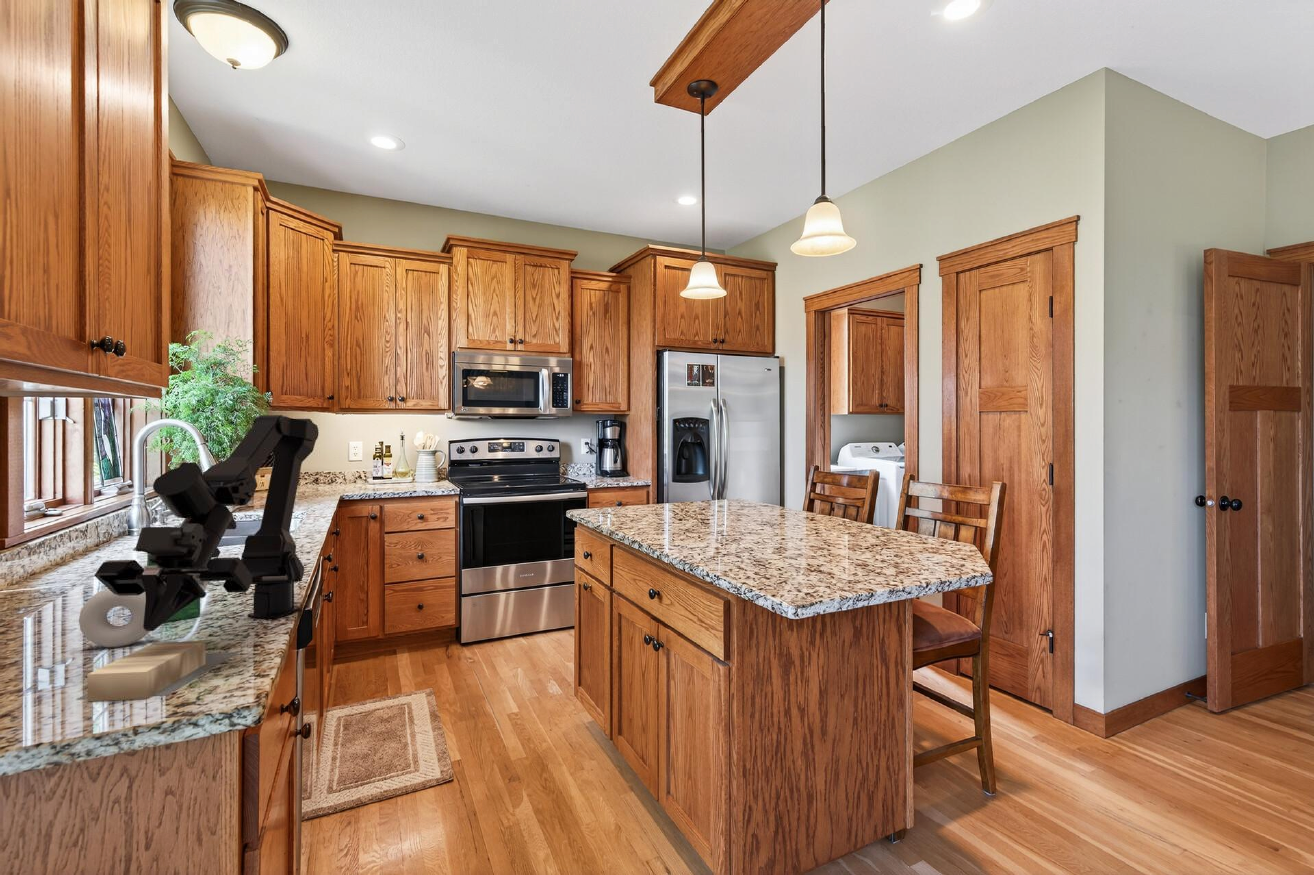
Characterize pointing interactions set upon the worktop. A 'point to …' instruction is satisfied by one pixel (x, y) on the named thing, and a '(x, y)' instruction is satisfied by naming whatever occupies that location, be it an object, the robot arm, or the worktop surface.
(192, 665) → the birch block
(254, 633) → the worktop surface
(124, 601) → the donut
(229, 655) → the rubber mat
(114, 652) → the worktop surface
